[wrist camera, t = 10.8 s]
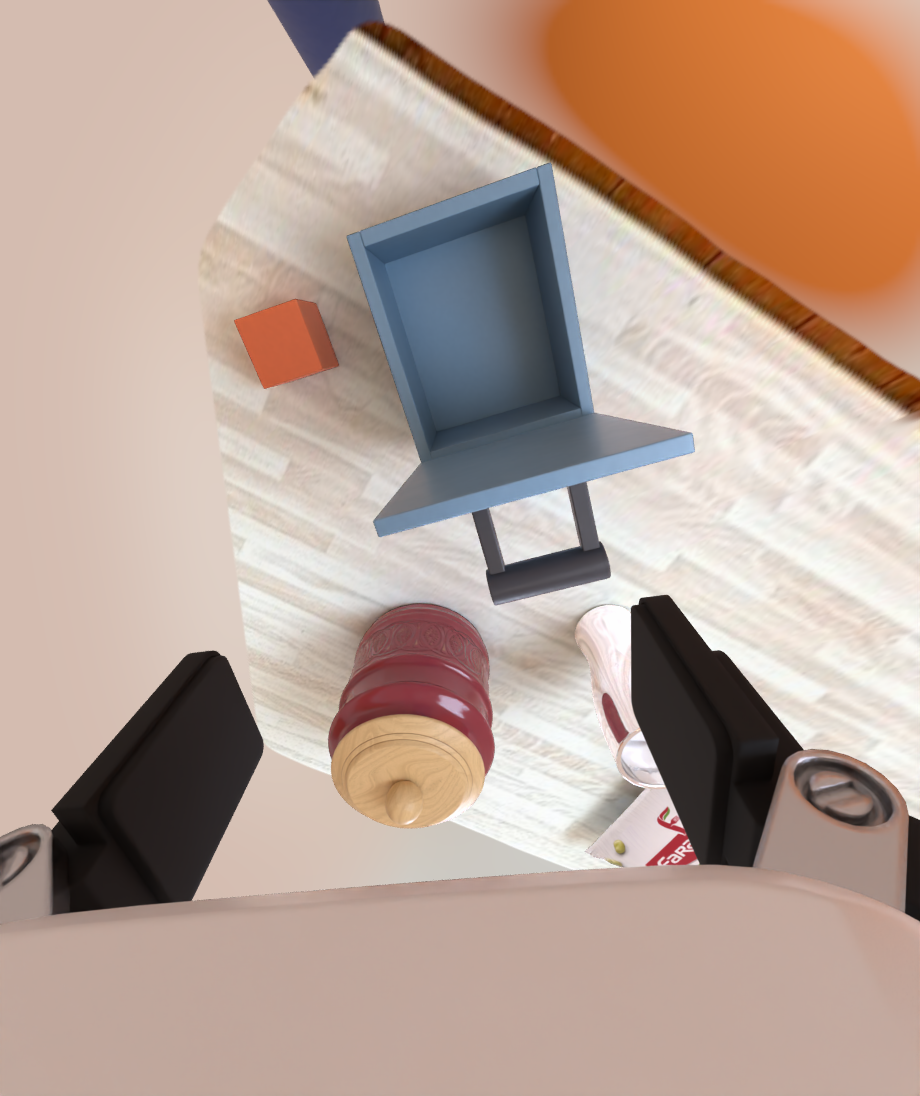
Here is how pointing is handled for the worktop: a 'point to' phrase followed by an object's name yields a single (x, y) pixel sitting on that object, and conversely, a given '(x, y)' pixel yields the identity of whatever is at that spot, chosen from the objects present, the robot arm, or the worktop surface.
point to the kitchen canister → (414, 719)
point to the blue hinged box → (478, 314)
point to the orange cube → (287, 342)
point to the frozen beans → (646, 835)
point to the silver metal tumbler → (616, 691)
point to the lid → (532, 493)
